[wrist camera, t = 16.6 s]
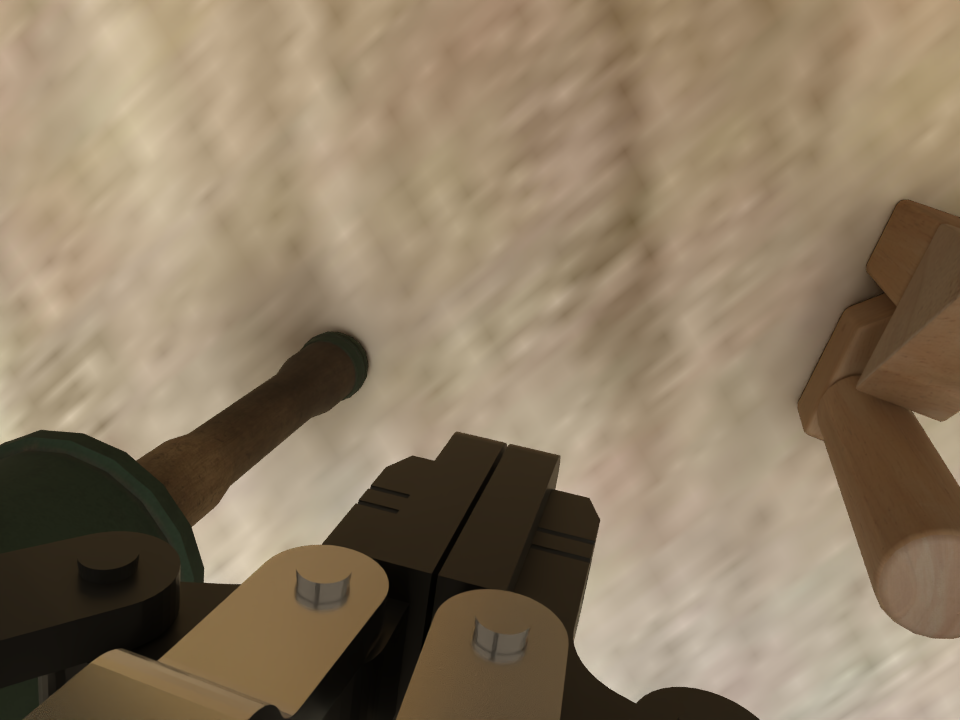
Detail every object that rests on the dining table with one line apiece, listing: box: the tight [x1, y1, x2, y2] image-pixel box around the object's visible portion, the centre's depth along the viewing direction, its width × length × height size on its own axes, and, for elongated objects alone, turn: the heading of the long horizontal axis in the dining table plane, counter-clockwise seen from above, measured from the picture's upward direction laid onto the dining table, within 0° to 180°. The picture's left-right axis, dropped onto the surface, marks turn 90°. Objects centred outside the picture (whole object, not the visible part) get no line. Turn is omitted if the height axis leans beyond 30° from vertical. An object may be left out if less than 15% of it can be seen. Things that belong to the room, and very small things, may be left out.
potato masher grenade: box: [0, 332, 368, 720], centre depth 33 cm, size 8×9×30 cm
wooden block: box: [798, 200, 960, 639], centre depth 31 cm, size 4×11×18 cm, turn 162°
